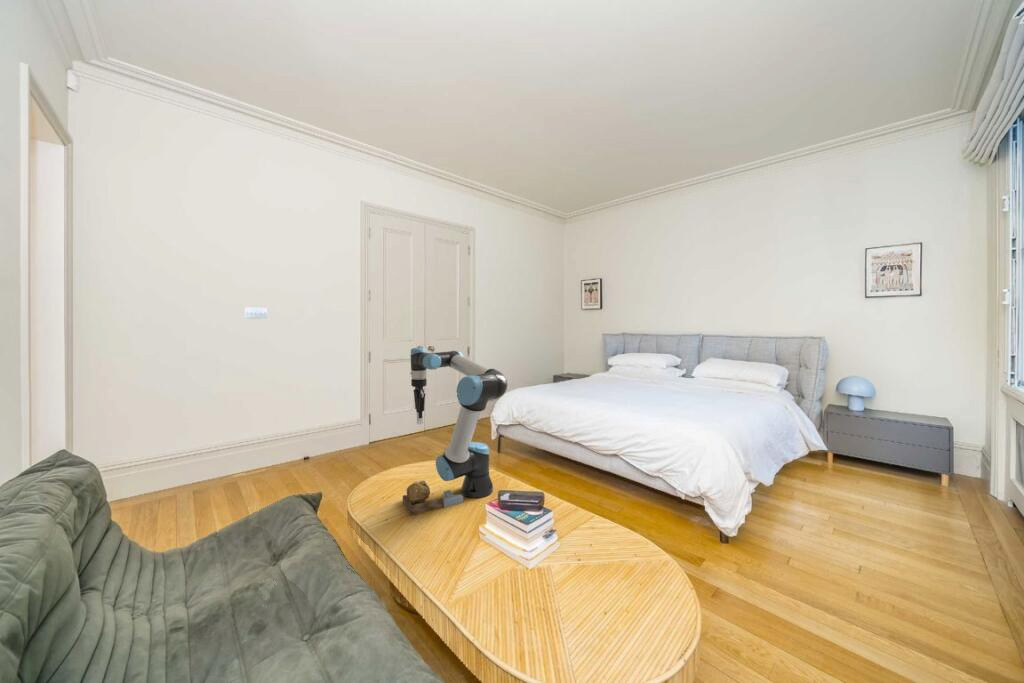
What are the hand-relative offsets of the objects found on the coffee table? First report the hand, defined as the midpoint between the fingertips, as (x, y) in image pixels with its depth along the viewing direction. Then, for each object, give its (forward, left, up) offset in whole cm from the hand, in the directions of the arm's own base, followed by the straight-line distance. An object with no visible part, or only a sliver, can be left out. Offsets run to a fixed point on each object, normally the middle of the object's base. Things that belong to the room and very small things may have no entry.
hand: (419, 423), depth 200 cm
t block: (-5, +29, -30) cm, 42 cm away
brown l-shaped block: (+7, +27, -29) cm, 40 cm away
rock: (+8, +24, -30) cm, 39 cm away
